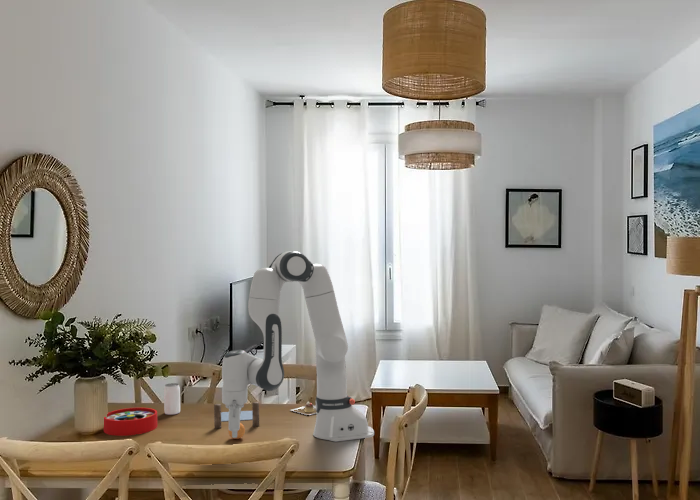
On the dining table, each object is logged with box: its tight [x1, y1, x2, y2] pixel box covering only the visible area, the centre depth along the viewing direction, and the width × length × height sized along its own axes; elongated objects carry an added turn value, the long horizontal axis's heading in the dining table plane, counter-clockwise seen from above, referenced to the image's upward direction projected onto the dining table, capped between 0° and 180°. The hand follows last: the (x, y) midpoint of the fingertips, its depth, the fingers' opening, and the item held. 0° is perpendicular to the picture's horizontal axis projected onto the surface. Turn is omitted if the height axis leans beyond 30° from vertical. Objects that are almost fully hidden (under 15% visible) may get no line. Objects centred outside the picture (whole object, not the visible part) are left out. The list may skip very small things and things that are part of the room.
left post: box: [213, 403, 222, 430], centre depth 264 cm, size 3×3×9 cm
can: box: [163, 382, 181, 416], centre depth 287 cm, size 6×6×12 cm
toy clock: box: [103, 407, 159, 437], centre depth 265 cm, size 20×6×20 cm
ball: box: [227, 422, 246, 440], centre depth 249 cm, size 6×6×6 cm
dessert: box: [289, 400, 317, 416], centre depth 288 cm, size 12×12×5 cm
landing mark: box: [221, 410, 253, 423], centre depth 281 cm, size 14×14×1 cm
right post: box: [251, 401, 260, 428], centre depth 266 cm, size 3×3×9 cm
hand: (234, 436), depth 239 cm, fingers closed
